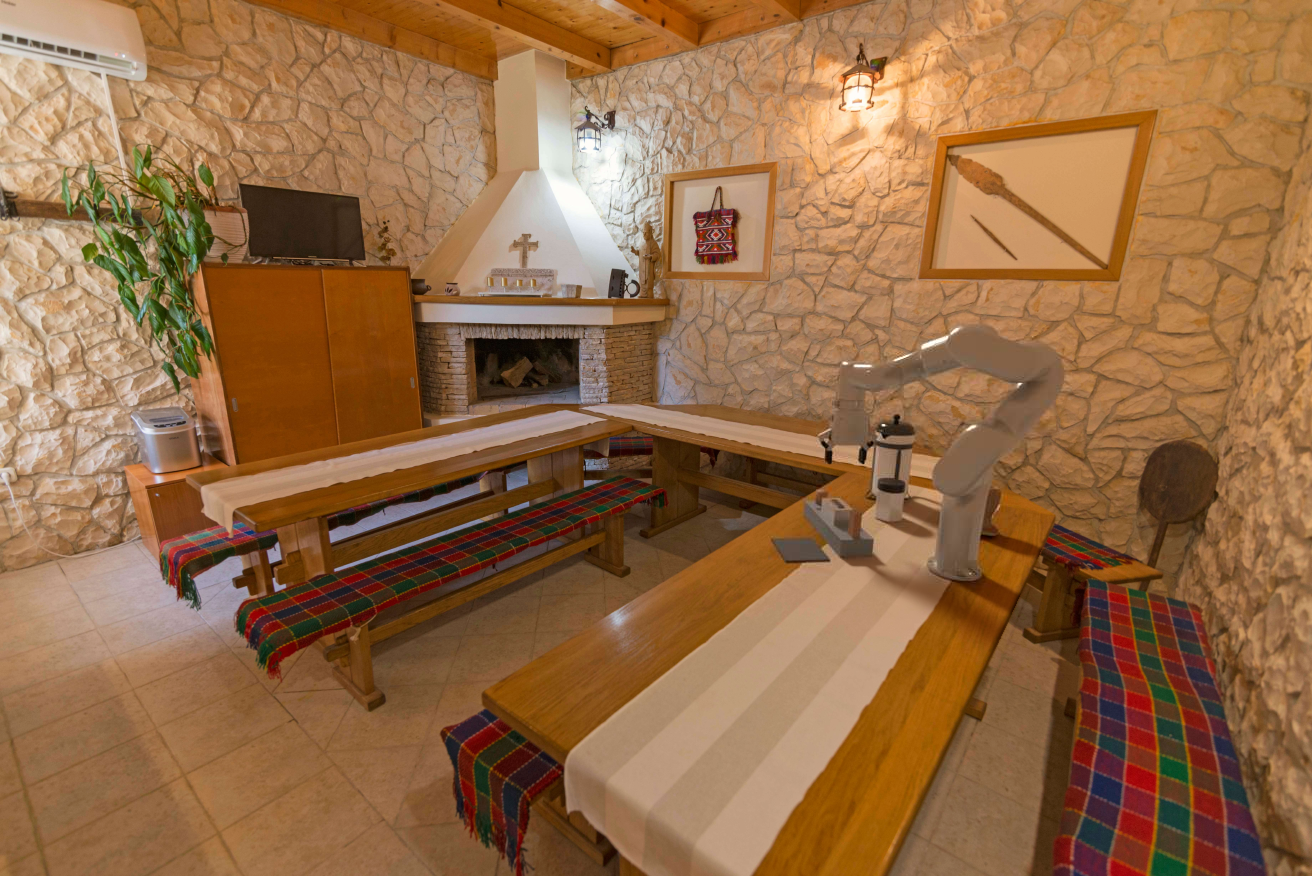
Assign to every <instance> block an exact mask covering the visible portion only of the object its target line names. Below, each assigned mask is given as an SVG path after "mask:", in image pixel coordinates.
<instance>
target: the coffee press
mask: <svg viewBox="0 0 1312 876" xmlns="http://www.w3.org/2000/svg"><path fill="white" fill-rule="evenodd" d="M892 418H893V419H887V420H882V421H880V422H878V423H877V425H876V426H875V427H874V430H875V434H876V435H877V436H878V438H877V439H876V441H875V442H874V445H873V452H872V453H873V454H872V465H871V473H870V483H869V489H868V491H867V492H866V493H865V497H866V499H870V498H872V497H874V496H875V497H876V495H877V484H878V479H880V478H895V479H899V480H902V481H904V482H905V483H906V485H905V491H904V493H905V494H904V498H905V499H906V500H907V501H908V500H910V499H911V495H910V493H909V484H910V483H909V482H910V475H911V467H912V458H913V451H914V450H913V449H914V447H915V441H914V440H915V435H916V433H917V430H916V429H915V427H914V425H913V424H912V423H910V422H907V421H904V420H900V419H901V415H900V414H897V413H895V414H894V415H893V417H892ZM870 493H871V494H870ZM869 494H870V495H869ZM868 495H869V496H868ZM907 495H908V497H907Z"/></svg>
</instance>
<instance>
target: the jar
mask: <svg viewBox="0 0 1312 876" xmlns="http://www.w3.org/2000/svg"><path fill="white" fill-rule="evenodd" d="M905 485H906V483H905V482H904V481H902V480H899V479H895V478H880V479H878V484H877V495H876V496H875V505H874V518H875V519H876V520H877V519H878V520H881V521H883V522H886V523H894V522H902V516H903V511H904V503H905V497H904V494H905V493H904V491H905Z"/></svg>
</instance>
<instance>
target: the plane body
mask: <svg viewBox="0 0 1312 876" xmlns="http://www.w3.org/2000/svg"><path fill="white" fill-rule="evenodd" d="M828 496H829V491H828V490H826V489H822V488H821V489H820V488H819V489H816V490H815V499H814V500H804V501H803V517H804V518H805V519H806V520H807V521H808V523H809V524H811V526H812V527H813V528H814V529H815V531H816V532H817V533H818V534H819V535H820V536H821V538H822V539H823V540H824V541H825V542H826V543H827V545H829V547H830V548H831V549H832V550H833V551H834V552H835V554H836V555H837V556H838V557H839V558H856V557H858V558H859V557H861V558H863V557H873V551H874V541H875V540H874V539H875V538H873V537H872V536H871V535H870V534H869V533H868V532H867V531H866V530H864V529H863V528H862V518H863V517H862V516H863V513H862V512H861V511H860V510H859V509H853V510H850V518H849V525H833V524H832V523H831V522H830V521H829V520H828V519H827V518H826V517H825V516H824V515H823V514H822V513H821V507H822V498H829V497H828Z"/></svg>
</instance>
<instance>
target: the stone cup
mask: <svg viewBox="0 0 1312 876" xmlns="http://www.w3.org/2000/svg"><path fill="white" fill-rule="evenodd" d="M1001 497H1002V491H1001V489H1000V488H999V487H998V486H995V485H992V484H991V486H990V490H989V493H988V497H987V501H986V506H985V512H984V517H983V524H982V530H981V535H982V536H991V537H994V536H995V537H996V536H997V535H999V529H998V528H997V526H995V525H994V524H993V523H992V518H993V515H994V513H995V512H996V511H997V509H998V507H999V504H1000V501H1001V499H1002V498H1001Z"/></svg>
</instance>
